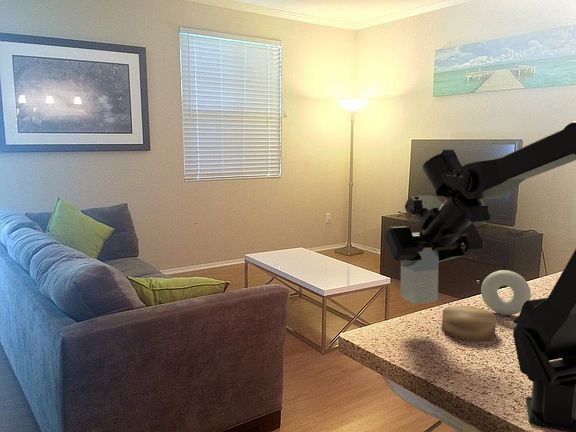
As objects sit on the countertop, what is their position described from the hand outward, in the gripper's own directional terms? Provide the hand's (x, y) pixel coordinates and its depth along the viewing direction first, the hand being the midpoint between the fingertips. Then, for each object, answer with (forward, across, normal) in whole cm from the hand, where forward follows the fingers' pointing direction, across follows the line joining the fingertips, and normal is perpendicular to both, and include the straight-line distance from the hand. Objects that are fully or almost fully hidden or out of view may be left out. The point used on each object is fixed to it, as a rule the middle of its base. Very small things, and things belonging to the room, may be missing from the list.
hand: (415, 263), depth 95 cm
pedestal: (+6, -10, +13) cm, 17 cm away
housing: (+4, 0, +6) cm, 7 cm away
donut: (+10, -24, +9) cm, 27 cm away
